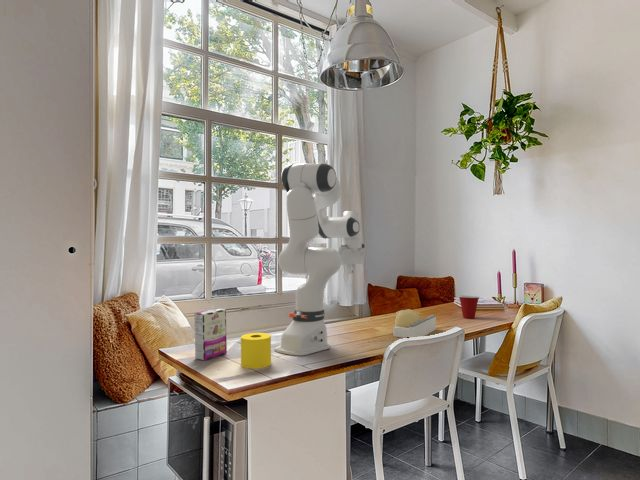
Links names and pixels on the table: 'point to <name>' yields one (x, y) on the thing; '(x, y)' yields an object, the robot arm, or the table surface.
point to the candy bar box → (210, 334)
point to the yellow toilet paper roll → (255, 350)
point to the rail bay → (416, 328)
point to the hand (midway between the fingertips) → (351, 273)
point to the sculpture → (407, 318)
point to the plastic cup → (468, 306)
